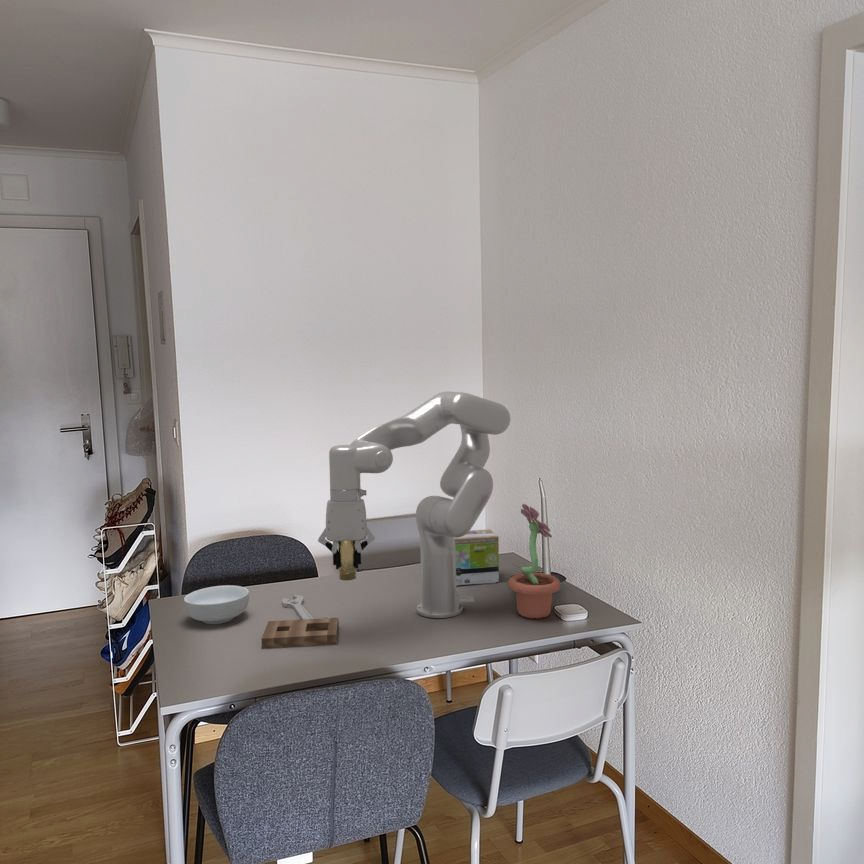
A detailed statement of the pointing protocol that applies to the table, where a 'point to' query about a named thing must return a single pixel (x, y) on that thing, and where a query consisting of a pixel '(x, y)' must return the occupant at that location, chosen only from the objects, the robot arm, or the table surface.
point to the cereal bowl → (216, 603)
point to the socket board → (300, 633)
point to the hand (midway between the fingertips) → (347, 566)
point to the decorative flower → (534, 575)
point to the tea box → (477, 557)
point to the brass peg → (347, 560)
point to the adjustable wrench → (297, 606)
